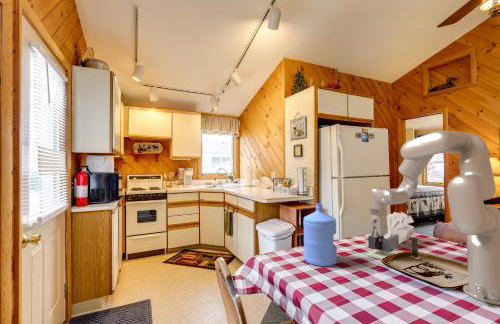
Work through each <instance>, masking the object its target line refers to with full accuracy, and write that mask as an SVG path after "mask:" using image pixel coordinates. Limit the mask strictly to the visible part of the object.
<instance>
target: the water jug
mask: <svg viewBox="0 0 500 324" xmlns="http://www.w3.org/2000/svg"><path fill="white" fill-rule="evenodd" d="M336 233H337V220H336V218H335V217H333V216H331V215H329V214H327V213H326V212H324V211H323V203H322V202H321V203H320V202H316V203H315V211H314V212H312V213H310V214H308V215H305V216H304V217H303V246H304V247H303V248H304V249H303V251H304V253H303V258H304V261H305V262H306V263H308V264H310V265H312V266H318V267H331V266H334V265H336V264H337V262H338V256H337V255H338V254H337V252H338V251H337V249H338V248H337V246H336V244H334V235H335V234H336Z"/></svg>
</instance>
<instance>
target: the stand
mask: <svg viewBox="0 0 500 324" xmlns="http://www.w3.org/2000/svg"><path fill="white" fill-rule="evenodd" d="M410 238H411V240H410V241H411V255H412V256H413V258H420V259H421V256H419V244H418V237H413V236H411V237H410ZM418 256H419V257H418Z"/></svg>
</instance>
